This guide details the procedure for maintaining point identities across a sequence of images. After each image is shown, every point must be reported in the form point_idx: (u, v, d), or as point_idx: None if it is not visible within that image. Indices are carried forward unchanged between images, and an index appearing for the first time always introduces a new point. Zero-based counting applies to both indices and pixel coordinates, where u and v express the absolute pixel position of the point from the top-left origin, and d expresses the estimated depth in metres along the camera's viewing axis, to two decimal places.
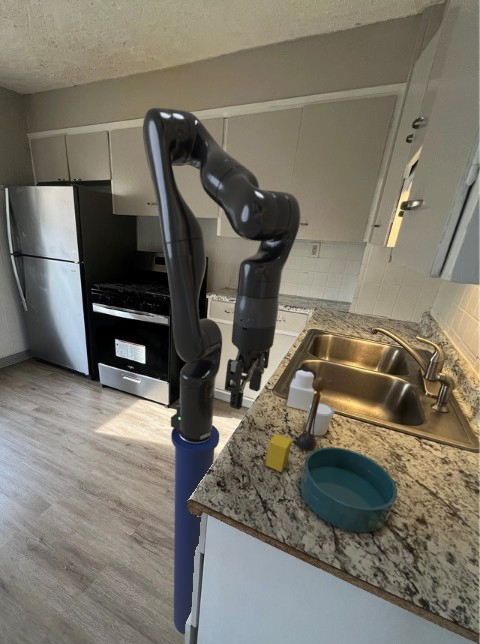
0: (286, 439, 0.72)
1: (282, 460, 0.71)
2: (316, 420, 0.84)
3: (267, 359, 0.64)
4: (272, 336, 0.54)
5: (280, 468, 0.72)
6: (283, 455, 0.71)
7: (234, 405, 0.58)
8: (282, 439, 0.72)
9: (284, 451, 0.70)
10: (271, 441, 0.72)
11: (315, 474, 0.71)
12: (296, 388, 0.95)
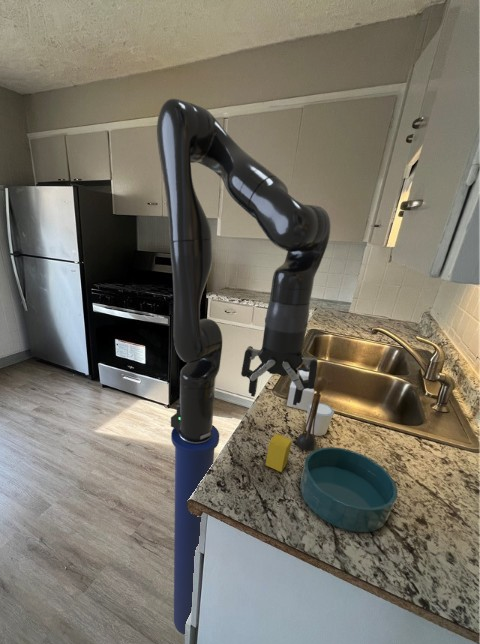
0: (286, 439, 0.72)
1: (282, 460, 0.71)
2: (316, 420, 0.84)
3: (311, 379, 0.60)
4: (281, 342, 0.56)
5: (280, 468, 0.72)
6: (283, 455, 0.71)
7: None
8: (282, 439, 0.72)
9: (284, 451, 0.70)
10: (271, 441, 0.72)
11: (315, 474, 0.71)
12: None
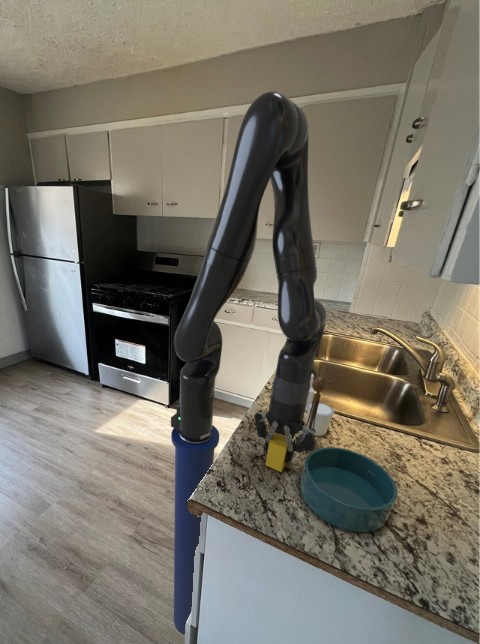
0: None
1: (282, 460, 0.71)
2: (316, 420, 0.84)
3: (301, 445, 0.68)
4: (281, 410, 0.65)
5: (280, 468, 0.72)
6: (283, 455, 0.71)
7: None
8: (282, 440, 0.72)
9: (284, 451, 0.70)
10: (271, 441, 0.72)
11: (315, 474, 0.71)
12: None
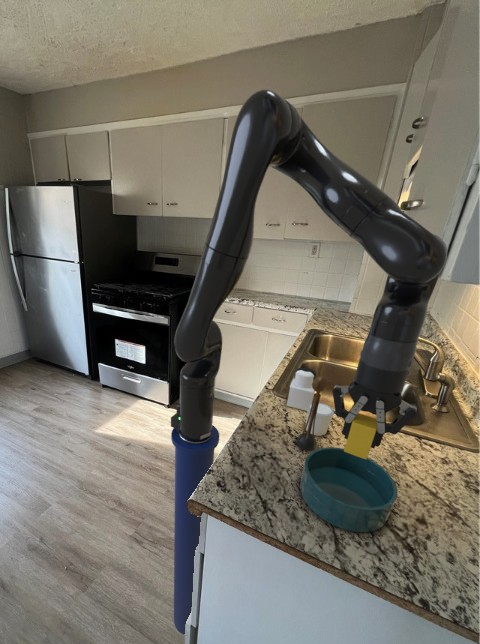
0: (372, 419, 0.59)
1: (369, 444, 0.58)
2: (316, 420, 0.84)
3: (398, 425, 0.54)
4: (378, 379, 0.51)
5: (365, 454, 0.59)
6: (371, 438, 0.57)
7: None
8: (368, 419, 0.59)
9: (373, 433, 0.57)
10: (355, 421, 0.58)
11: (315, 474, 0.71)
12: (296, 388, 0.95)
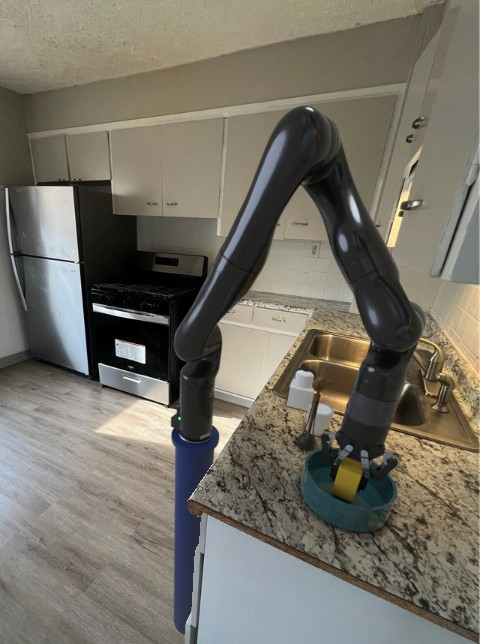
0: (358, 464, 0.62)
1: (354, 489, 0.61)
2: (316, 420, 0.84)
3: (381, 473, 0.58)
4: (361, 433, 0.55)
5: (351, 498, 0.62)
6: (356, 483, 0.60)
7: None
8: (354, 464, 0.62)
9: (358, 479, 0.60)
10: (341, 466, 0.61)
11: (315, 474, 0.71)
12: (296, 388, 0.95)
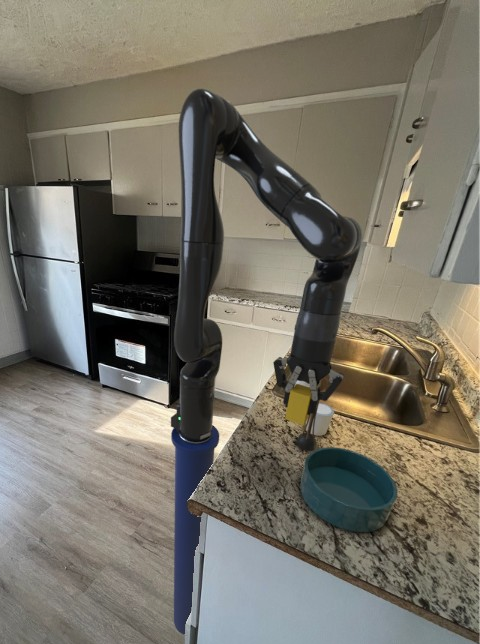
0: (309, 389, 0.65)
1: (305, 411, 0.64)
2: (316, 420, 0.84)
3: (328, 392, 0.60)
4: (306, 349, 0.57)
5: (302, 421, 0.65)
6: (306, 405, 0.63)
7: None
8: (305, 389, 0.65)
9: (307, 400, 0.63)
10: (292, 390, 0.64)
11: (315, 474, 0.71)
12: None
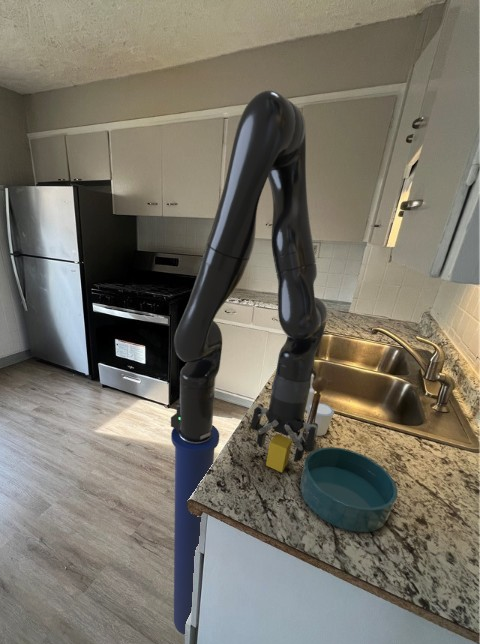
0: (287, 439, 0.72)
1: (283, 460, 0.71)
2: (316, 420, 0.84)
3: (309, 443, 0.67)
4: (281, 409, 0.65)
5: (281, 468, 0.72)
6: (284, 455, 0.71)
7: None
8: (283, 440, 0.72)
9: (285, 451, 0.70)
10: (272, 441, 0.72)
11: (315, 474, 0.71)
12: None
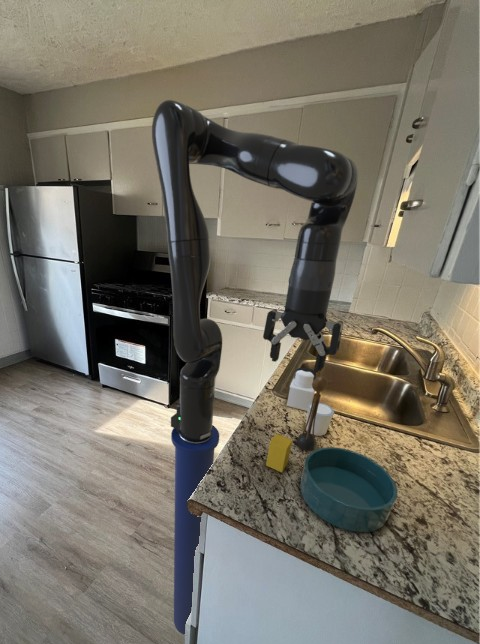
0: (287, 439, 0.72)
1: (283, 460, 0.71)
2: (316, 420, 0.84)
3: (333, 343, 0.57)
4: (301, 300, 0.55)
5: (281, 468, 0.72)
6: (284, 455, 0.71)
7: None
8: (283, 440, 0.72)
9: (285, 451, 0.70)
10: (272, 441, 0.72)
11: (315, 474, 0.71)
12: (296, 388, 0.95)
